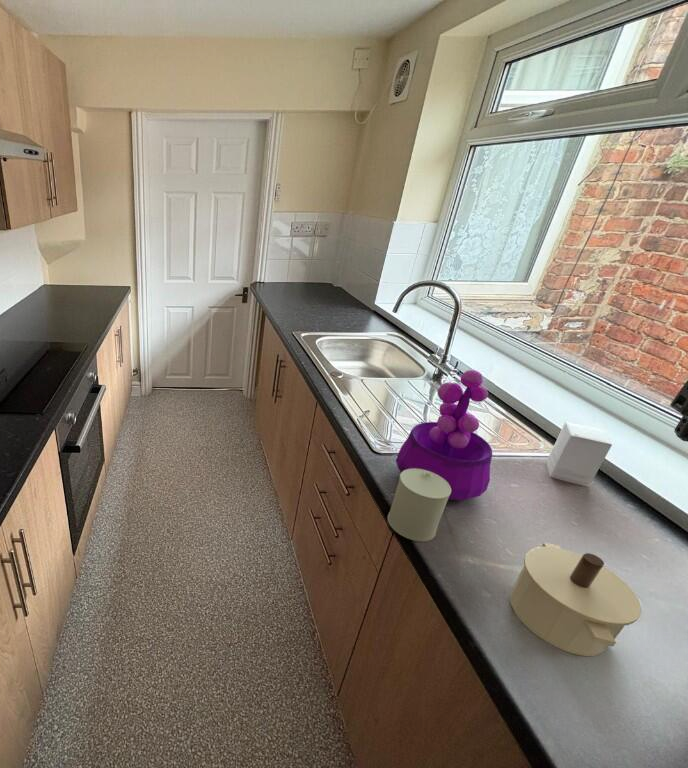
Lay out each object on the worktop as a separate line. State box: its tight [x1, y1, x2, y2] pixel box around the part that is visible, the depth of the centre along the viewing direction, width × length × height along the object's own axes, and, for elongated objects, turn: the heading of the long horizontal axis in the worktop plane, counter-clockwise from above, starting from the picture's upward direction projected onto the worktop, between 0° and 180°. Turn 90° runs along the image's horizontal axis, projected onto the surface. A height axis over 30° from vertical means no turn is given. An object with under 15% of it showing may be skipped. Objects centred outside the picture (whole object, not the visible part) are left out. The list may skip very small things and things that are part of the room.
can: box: [387, 468, 451, 542], centre depth 86 cm, size 9×9×12 cm
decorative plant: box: [395, 369, 493, 501], centre depth 93 cm, size 19×19×30 cm
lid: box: [523, 546, 642, 627], centre depth 65 cm, size 14×14×6 cm
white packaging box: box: [545, 421, 613, 488], centre depth 99 cm, size 7×7×13 cm
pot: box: [509, 542, 625, 657], centre depth 68 cm, size 13×18×8 cm
